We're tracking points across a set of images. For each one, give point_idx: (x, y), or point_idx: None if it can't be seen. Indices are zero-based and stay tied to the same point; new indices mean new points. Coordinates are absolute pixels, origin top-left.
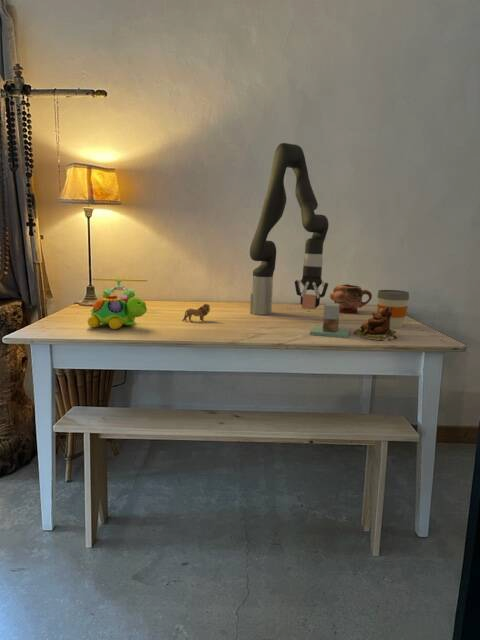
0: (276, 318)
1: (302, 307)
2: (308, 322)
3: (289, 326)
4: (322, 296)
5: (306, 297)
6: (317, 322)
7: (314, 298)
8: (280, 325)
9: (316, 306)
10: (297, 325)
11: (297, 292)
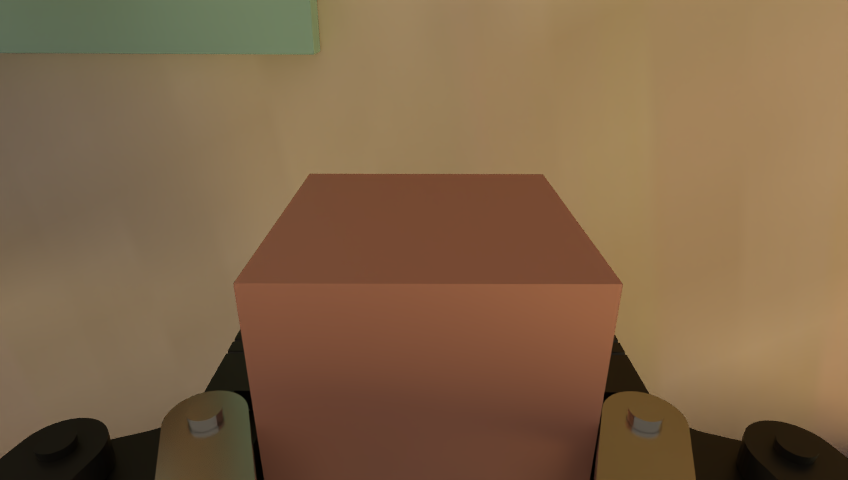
0: None
1: (540, 179)
2: None
3: (630, 71)
4: (72, 435)
5: (504, 270)
6: None
7: (267, 266)
8: (739, 86)
9: None
10: None
11: (835, 476)
